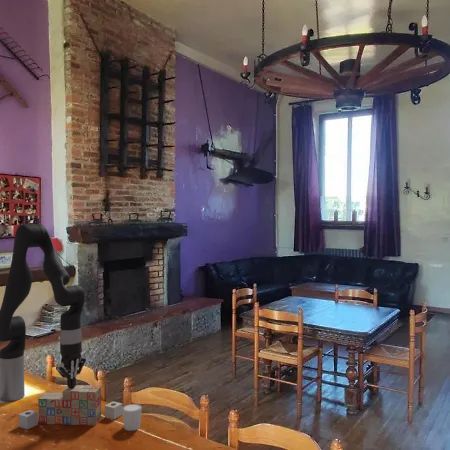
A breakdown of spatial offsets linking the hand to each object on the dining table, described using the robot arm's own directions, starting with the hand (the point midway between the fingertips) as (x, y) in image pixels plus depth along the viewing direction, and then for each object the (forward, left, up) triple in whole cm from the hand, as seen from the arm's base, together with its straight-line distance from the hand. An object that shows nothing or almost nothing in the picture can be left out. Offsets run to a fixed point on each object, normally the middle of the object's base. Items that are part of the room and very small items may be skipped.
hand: (71, 387), depth 172 cm
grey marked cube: (-11, -10, -12) cm, 19 cm away
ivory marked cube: (+11, +10, -12) cm, 19 cm away
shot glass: (+23, +6, -12) cm, 27 cm away
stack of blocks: (-1, 0, -13) cm, 13 cm away
